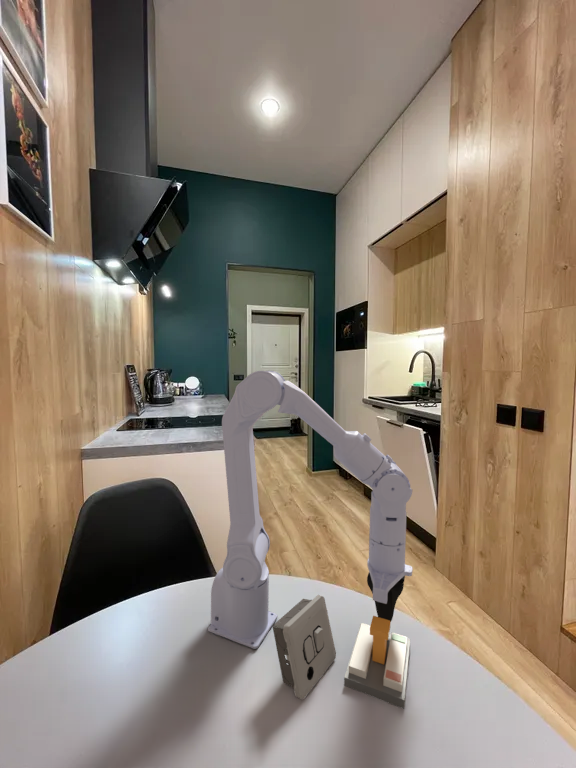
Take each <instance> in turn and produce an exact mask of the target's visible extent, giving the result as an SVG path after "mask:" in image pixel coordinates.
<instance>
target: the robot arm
mask: <svg viewBox="0 0 576 768" xmlns="http://www.w3.org/2000/svg"><path fill="white" fill-rule="evenodd" d="M234 390H235V391H234V394H233V396H232V398H231V400H230V402H228V403H229V404H228V405H227V408H226V409H225V411H224V412H223V415H222V418H221V428H222V438H223V439H222V440H223V441H222V442H223V450H224V451H223V453H224V463H225V477H226V486H227V487H226V488H227V499H228V500H227V501H228V509H229V511H228V512H229V521H230V524H229V529H228V531H229V532H228V537H227V541H226V556H225V559H224V562H223V564H222V567H221V568H220V569H219V570H218V572H217V573H216V574H215V577H214V579H213V582H212V585H211V590H210V625H208V628H207V630H208V632H210V633H212V634H215V635H217V636H220V637H223V638H226V639H227V640H230V641H233V642H236V643H238V644H241V645H243V646H246V647H249V648H251V649H254V650H256V649H258V648H259V647H260V645H261V644H262V642H263V640H264V639H265V638H266V636H267V634H268V632H269V631H270V629H271V628H273V625H274V624H275V623H276V621H277V620H278V614H277V613H276V612H272V611H269V602H270V601H269V598H270V597H269V596H270V595H269V594H270V593H269V590H270V588H269V585H270V584H269V583H270V581H269V580H270V570H269V567H268V565H267V564H266V557H267V554H268V552H269V550H270V547H271V540H270V537H269V534H268V533H267V531H266V529H265V526H264V520H263V517H262V516H261V514H260V504H259V503H260V502H259V491H258V490H259V488H258V479H257V468H256V466H257V465H256V456H255V455H256V453H255V443H254V431H253V427H254V425H255V424H256V423H257V422H258V421H259V419H260V418H261V417H263V415H264V414H266V413H267V412H269V411H271V410H272V409H274V408H275V407H277V406H279V408H278V409H277V413H279V414H285V415H294V416H297V417H298V418H299V419H301V420H303V422H305V423H306V424H307V425H308V426H309V427H311V428H312V429H313V430H314V431H315V432H316V433H317V434H319V435H320V436H321V437H322V438H324V440H326V441H327V442H328V443H330V444H331V445H332V446H333V456H334V459H335V460H336V461H338V462H339V463H340V464H341V465H342V466H343V467H345V468H346V469H347V470H348V471H349V472H350V473H352V475H354V476H355V477H356V478H357V479H358V480H360V482H362V484H364V485H368V486H369V487H370V488H371V490H372V491H371V493H370V494H371V496H370V497H371V499H370V502H371V503H370V504H371V505H370V506H369V507H370V508H369V530H368V531H369V535H368V536H369V537H368V558H367V561H366V563H367V564H366V565H367V568H368V569H367V570H368V571H369V572H368V574H367V577H366V582H367V586H368V588H369V590H370V592H371V594H372V601H374V604H375V609H376V614H377V617H380V618H383V619H387V620H390V621H391V622H392V621H393V617H394V613H395V609H396V608H395V607H396V605H397V604H396V603H397V601H398V599H399V597H400V595H401V594H402V593H403V590H404V586H405V584H404V583H405V578H406V577H412V576H413V571H414V570H413V566H412V565H409V564H407V563H406V541H407V539H406V538H407V533H406V532H407V510H406V509H407V503H408V502H409V501H410V500H411V497H412V495H413V489H412V488H411V483H410V480H409V478H408V476H407V475H406V474H405V472H404V471H403V470H402V469H401V468H400V467H399V465H397V463H396V461H394V460H393V458H392V456H390V455H389V454H386V455H385V454H384V453H383V452H382V451H380V450H379V449H378V447H376V446H375V445H374V444H372V442H371V441H372V438H371V437H370V436H369V434H367V433H365V432H364V433H363V434H361V432H359V431H358V430H345V429H344V428H343V427H342V426H341V425H340V424H339V423H338V422H336V420H335V419H333V417H331V416H330V415H329V414H328V412H326V411H325V409H323V408H322V407H321V406H320V405H319V404H318V403H317V402H316V401H314V400H313V399H312V398H311V396H309V395H308V394H307V393H306V392H305V391H304V390H302V389H301V388H300V387H298V386H297V385H296V384H295V383H293V382H291V381H290V380H289V379H287V380H286V379H285V378H284V376H283V375H282V374H281V373H279V372H278V371H274V370H256V371H254V372H251V373H250V374H249V375H247V376H246V377H245V378H244V379H243V380H242V381H241V382H239V383H238V384H237V385H236V387H235V389H234Z"/></svg>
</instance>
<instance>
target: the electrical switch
mask: <svg viewBox="0 0 576 768" xmlns="http://www.w3.org/2000/svg"><path fill="white" fill-rule="evenodd" d="M328 613H329V612H328V609H327V604H326V599H325V597H324V596H322V595H319V594H317V595H316V596H315V597H313V599H307V598H302V599H301V600H300V601H299V602H298V603H297V604H295V605H294V606H293V607H292V608H291V609H290V610H288V612H286V613H284V615H283V616H282V617H280V618H279V619H277V620H276V621H275V622H274V624H273V625H272V630H273V631H272V632H273V638H274V642H275V647H276V652H277V657H278V662H279V667H280V672H281V677H282V683H283V684H284V685H287V686H289V687H291V688H292V689H293V690H294V695H295V697H296V699H297V698H298V699H300V700H303V699H305V698H306V697H307V696H308V694H309V693H310V692H311V691H312V689H313V688H314V687H315V685H316V684H317V683H318V682H319V680H320V679H321V678H322V677H323V675H324V674H325V673H326V671H327V670H328V669H329V668H330V666H331V665H332V664H333V662H334V661H335V660H336V659H337V658H336V657H337V655H336V654H337V650H336V647H335V641H334V637H333V631H332V628H331V623H330V618H329V614H328Z"/></svg>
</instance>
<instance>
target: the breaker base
mask: <svg viewBox="0 0 576 768" xmlns="http://www.w3.org/2000/svg"><path fill="white" fill-rule="evenodd" d="M370 626H371V624H370V625H369V624H367V623H362V622H361V623H360V624H359V627H358V632H357V634H356V638H355V640H354V644H353V647H352V651H351V654H350V658H349V660H348V663H347V667H346V671H345V674H344V677H343V678H344V679H343V683H344V684H343V685H344V687H347V688H350V689H352V690H354V691H357V692H360V693H362V694H364V695H365V694H366V695H368V696H370V697H372V698H375V699H377V700H381V701H383V702H385V703H388V704H389V705H393V706H396V707H398V708H401V709H405V703H406V693H407V680H408V674H409V673H408V671H409V663H410V652H411V639H410V638H408V636H405V635H402V634H398V633H396V632H389V637H388V640H387V651H386V658H385V663H384V665H383V664H381V663H378V662H375V661H372V658H373V635H370Z"/></svg>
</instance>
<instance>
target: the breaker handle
mask: <svg viewBox="0 0 576 768" xmlns="http://www.w3.org/2000/svg"><path fill="white" fill-rule="evenodd" d="M391 622H392V621H390V620H387V619H383V618H380V617H378V616H376V615H373V616H372V619H371V623H370V635H373V658H372V661H375V662H378V663H381V664H383V665H384V663H385V658H386V651H387V640H388V637H389V633H391V631H390V630H391Z"/></svg>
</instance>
